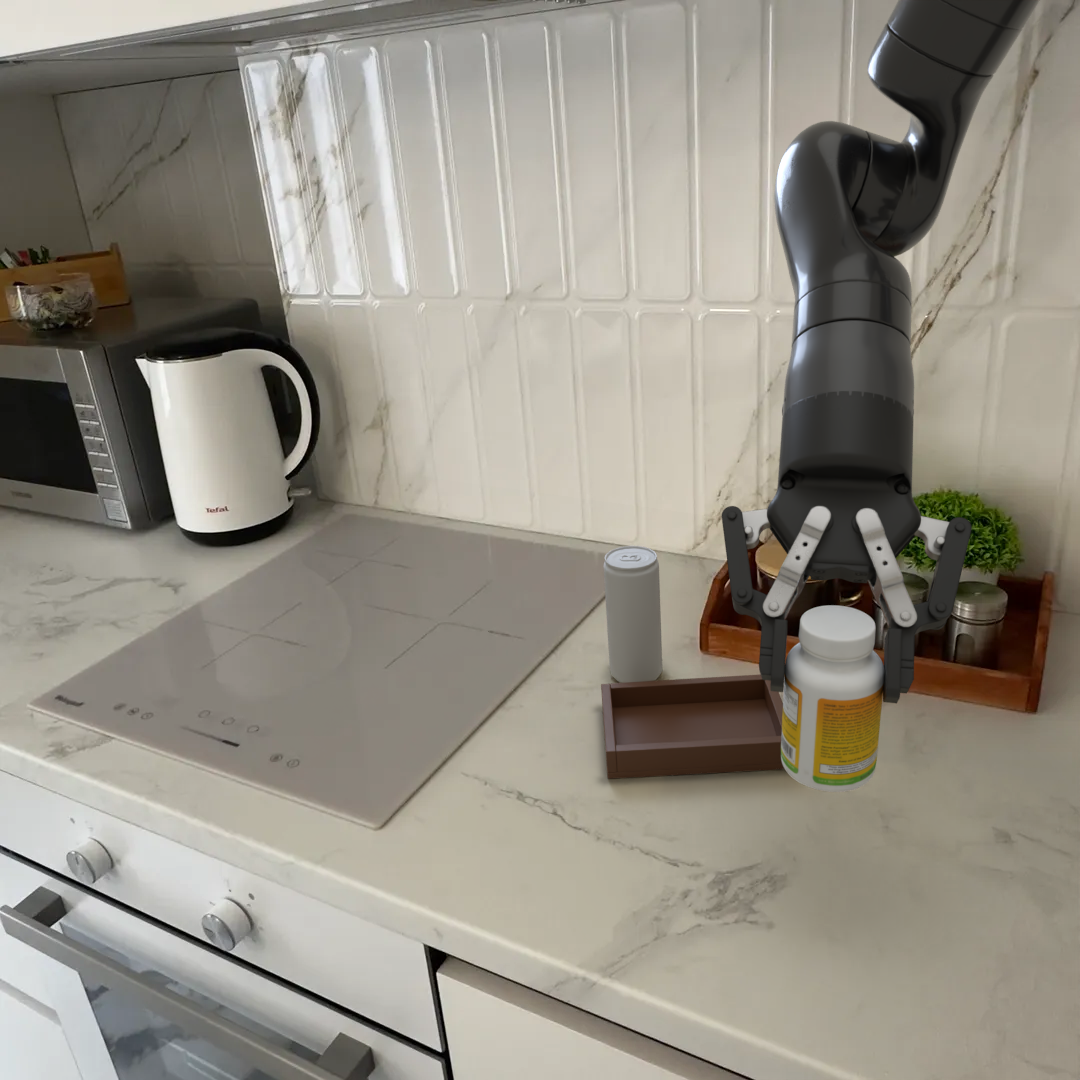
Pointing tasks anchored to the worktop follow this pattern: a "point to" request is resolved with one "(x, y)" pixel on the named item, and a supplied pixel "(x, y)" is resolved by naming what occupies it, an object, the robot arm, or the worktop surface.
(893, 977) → the worktop surface
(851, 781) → the supplement bottle
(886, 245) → the robot arm
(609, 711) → the tray
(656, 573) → the beverage can
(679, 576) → the worktop surface
